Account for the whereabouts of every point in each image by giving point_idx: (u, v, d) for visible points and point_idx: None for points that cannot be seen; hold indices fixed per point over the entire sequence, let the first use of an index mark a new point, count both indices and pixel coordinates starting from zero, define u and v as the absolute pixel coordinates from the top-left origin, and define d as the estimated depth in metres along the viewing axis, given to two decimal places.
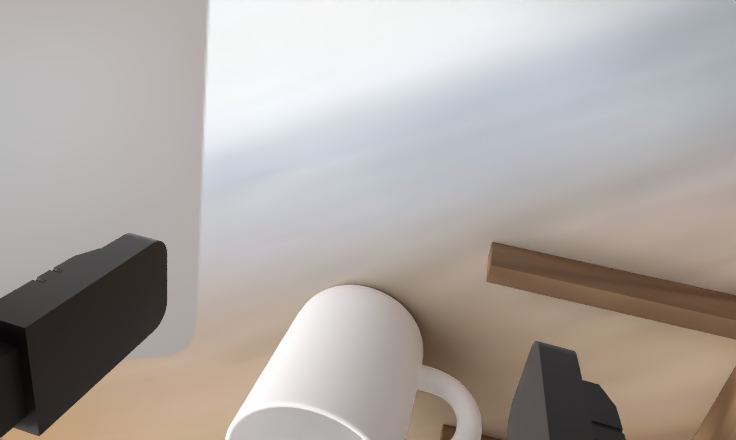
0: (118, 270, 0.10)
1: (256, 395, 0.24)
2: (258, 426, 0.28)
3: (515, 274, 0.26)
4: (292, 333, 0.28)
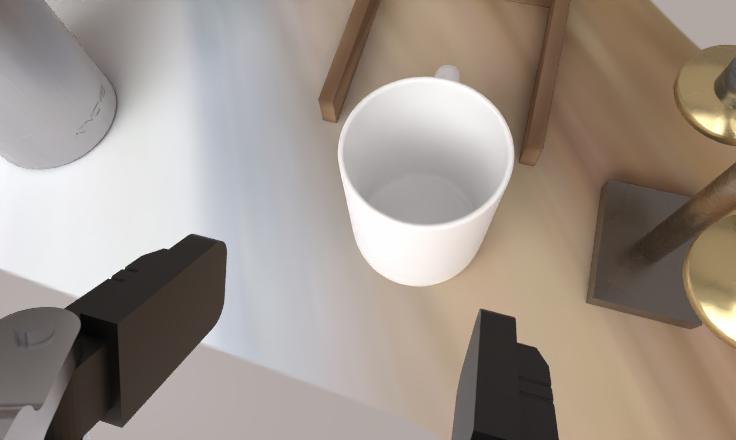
0: (189, 269, 0.10)
1: (350, 197, 0.25)
2: None
3: (327, 84, 0.36)
4: (358, 234, 0.29)
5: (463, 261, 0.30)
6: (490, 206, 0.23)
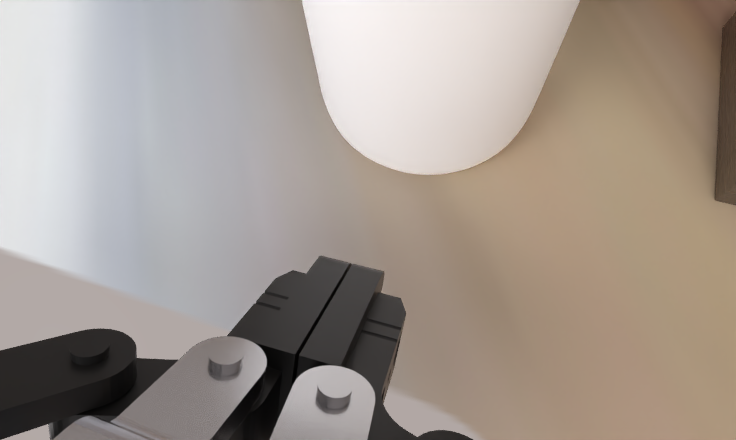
0: (333, 293, 0.10)
1: None
2: None
3: None
4: (322, 60, 0.16)
5: (512, 114, 0.17)
6: None
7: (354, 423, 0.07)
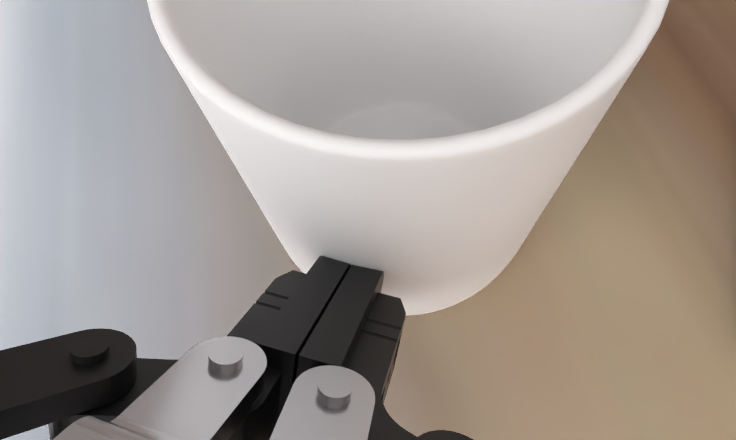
0: (333, 293, 0.10)
1: None
2: None
3: None
4: None
5: (497, 264, 0.13)
6: (615, 82, 0.07)
7: (354, 423, 0.07)
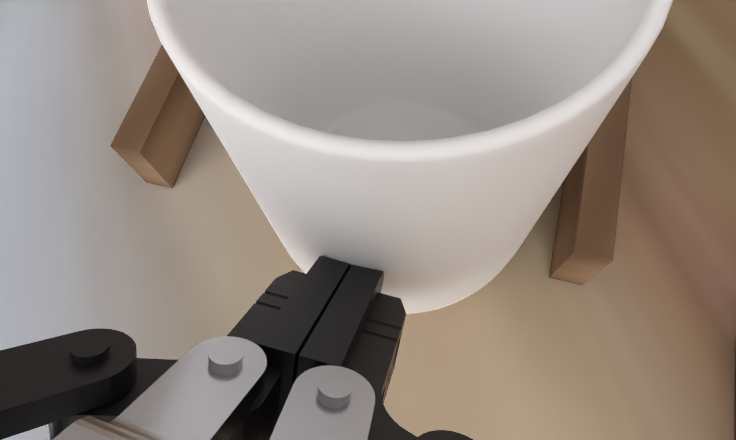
0: (333, 294, 0.10)
1: None
2: None
3: (134, 113, 0.17)
4: None
5: (498, 263, 0.13)
6: (619, 82, 0.07)
7: (354, 423, 0.07)
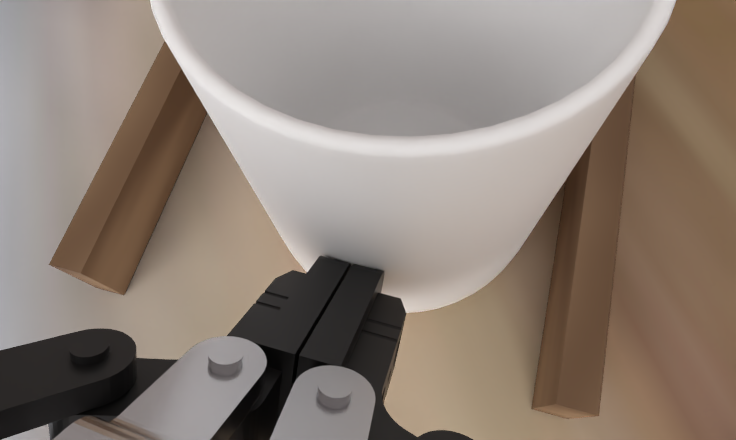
0: (333, 293, 0.10)
1: None
2: None
3: (77, 225, 0.15)
4: (260, 201, 0.13)
5: (499, 262, 0.13)
6: (623, 79, 0.07)
7: (354, 423, 0.07)
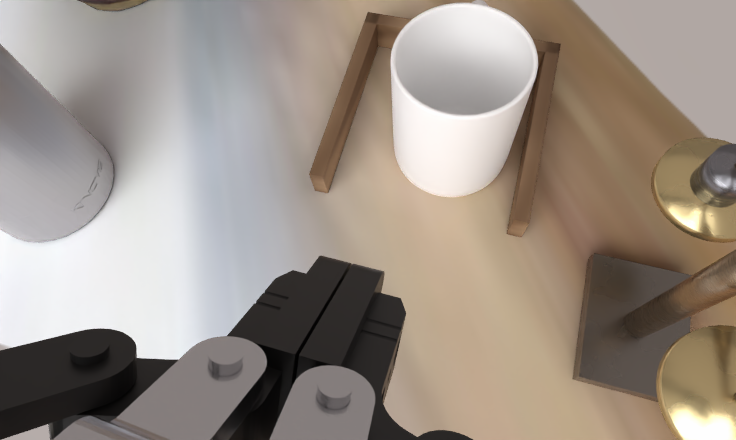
0: (333, 293, 0.10)
1: (400, 99, 0.30)
2: None
3: (318, 159, 0.36)
4: (402, 144, 0.34)
5: (492, 168, 0.34)
6: (519, 100, 0.28)
7: (354, 423, 0.07)
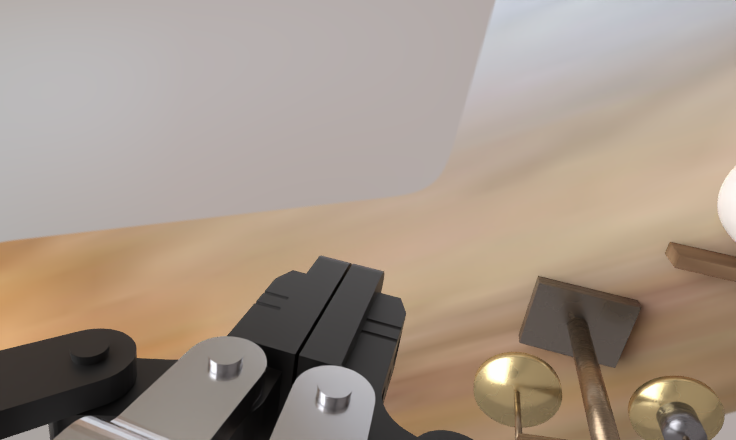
0: (333, 294, 0.10)
1: None
2: None
3: None
4: None
5: None
6: None
7: (354, 423, 0.07)
